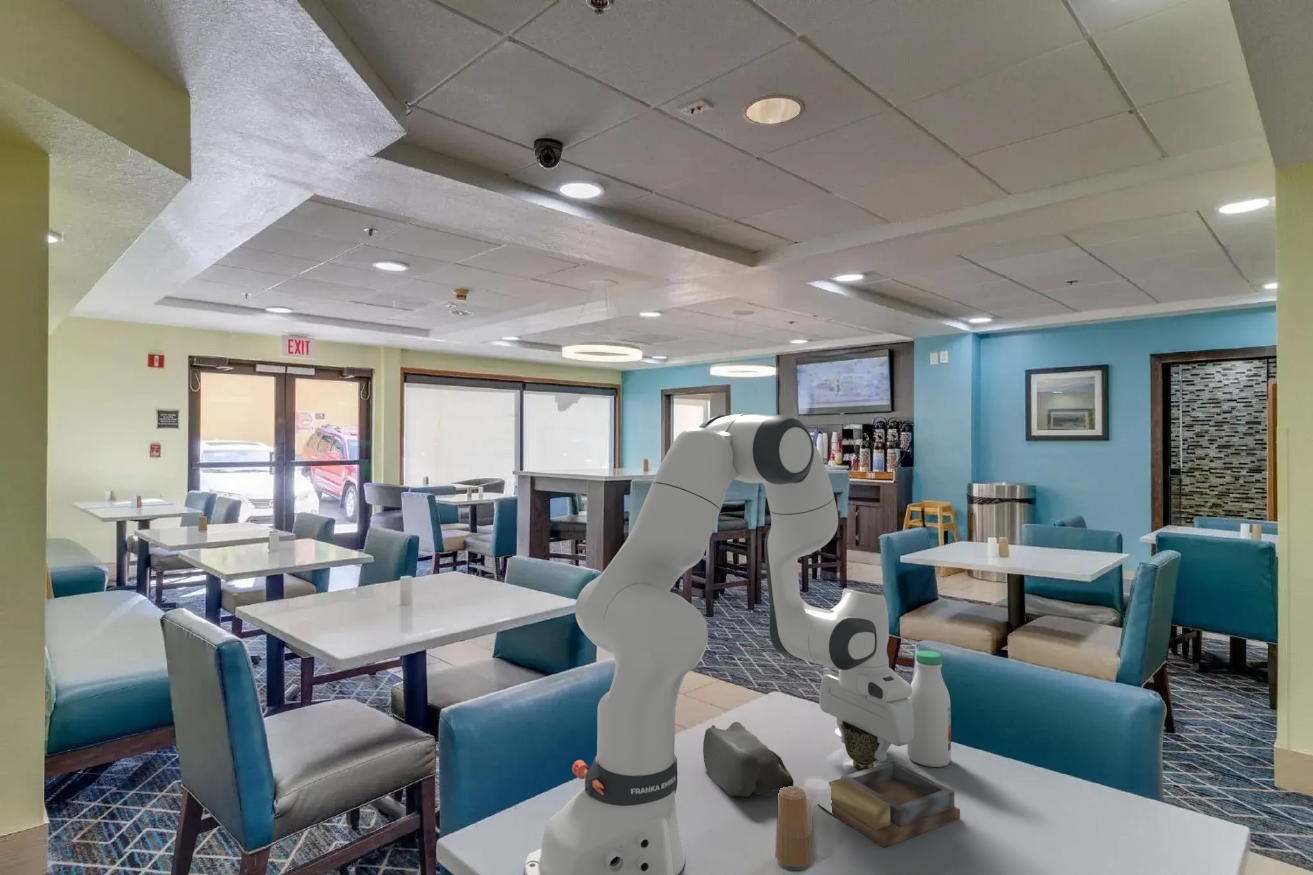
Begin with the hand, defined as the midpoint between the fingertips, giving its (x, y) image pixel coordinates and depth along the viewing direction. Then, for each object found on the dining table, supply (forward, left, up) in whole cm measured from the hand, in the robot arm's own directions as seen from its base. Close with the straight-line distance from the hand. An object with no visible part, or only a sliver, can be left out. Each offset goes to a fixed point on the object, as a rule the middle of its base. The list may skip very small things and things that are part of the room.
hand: (863, 751), depth 128 cm
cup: (0, 0, -3) cm, 3 cm away
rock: (-21, +7, -4) cm, 23 cm away
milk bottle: (+14, -3, -3) cm, 15 cm away
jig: (-8, -13, -3) cm, 16 cm away
